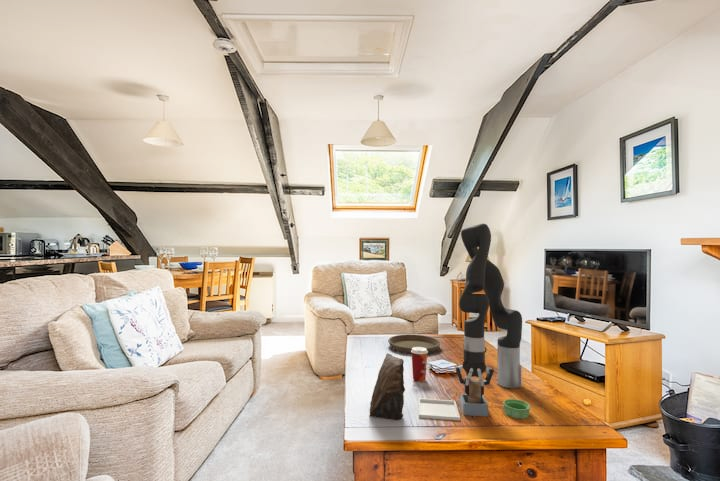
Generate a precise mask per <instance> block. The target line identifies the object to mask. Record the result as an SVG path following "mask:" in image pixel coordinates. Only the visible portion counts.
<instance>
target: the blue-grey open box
mask: <svg viewBox="0 0 720 481" xmlns="http://www.w3.org/2000/svg"><path fill="white" fill-rule="evenodd" d="M459 395H460V396H459V406H460V408H461V409H460V410H461V412H462V415H463V416H476V417H489V404H488V402H487V400H486V398H485V396H484V395H482V396H481V404H480V403H468V396H467V394H466V393H460V394H459Z"/></svg>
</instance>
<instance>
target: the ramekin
mask: <svg viewBox="0 0 720 481" xmlns="http://www.w3.org/2000/svg"><path fill="white" fill-rule="evenodd" d="M503 410H504V413H505V414H506V415H507V416H509V417H512V418H515V419H526V418H529V417H530V416H529V415H530V410H531V405H530V404H529V403H528V402H527V401H524V400H521V399H516V398H510V399H509V398H507V399H505V400H503Z"/></svg>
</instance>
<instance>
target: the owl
mask: <svg viewBox="0 0 720 481" xmlns="http://www.w3.org/2000/svg"><path fill="white" fill-rule="evenodd" d="M404 362H405V360H404V359H403V358H399V357H396V356H393V354H391V353H386V354H385V358H383V362H382V364H381V366H380V369H379V371H378V374H377V379H376V381H375V385H374V388H373V392H372V395H371V400H370V404H369V406H370V407H369V417H371V418H377V419H386V420H393V421H400V420H403V418H404V414H403V408H404V404H405V403H404V402H405V398H404V397H405V396H404V392H405V391H406V387H405V385H404V384H405V381H404V379H405V378H404V371H405V368H404Z"/></svg>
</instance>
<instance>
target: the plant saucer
mask: <svg viewBox="0 0 720 481" xmlns="http://www.w3.org/2000/svg"><path fill="white" fill-rule="evenodd" d="M388 344H389V345H390V346H391V348H392V349H393V350H395V351H396V352H399V353H402V352H403V353H404V354H409V355H412V352H411V350H412V348H413V347H423V348H426V349H427V351H428V353H427V354H431V353H434V352H436V351H437V349H439V347H440V345H441V341H440V340H438V339H437V338H435V337H431V336H428V335H423V334H398V335H394V336H391V337H390V338H388Z"/></svg>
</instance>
